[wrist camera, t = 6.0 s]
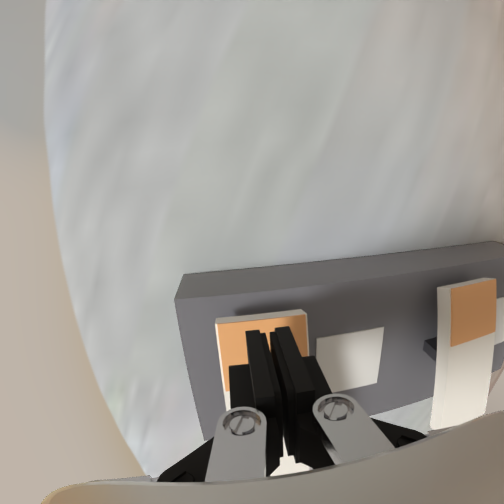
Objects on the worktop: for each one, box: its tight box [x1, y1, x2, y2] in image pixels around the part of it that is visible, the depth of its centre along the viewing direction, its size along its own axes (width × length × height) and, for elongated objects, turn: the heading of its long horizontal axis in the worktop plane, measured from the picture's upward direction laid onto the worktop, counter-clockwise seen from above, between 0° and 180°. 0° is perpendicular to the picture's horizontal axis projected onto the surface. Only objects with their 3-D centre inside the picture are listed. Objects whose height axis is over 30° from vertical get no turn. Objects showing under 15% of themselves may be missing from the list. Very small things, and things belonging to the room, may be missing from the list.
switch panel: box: [174, 241, 504, 441], centre depth 18 cm, size 10×24×6 cm, turn 94°
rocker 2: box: [430, 278, 496, 430], centre depth 15 cm, size 9×4×1 cm, turn 4°
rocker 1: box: [215, 309, 309, 476], centre depth 14 cm, size 9×4×1 cm, turn 4°
